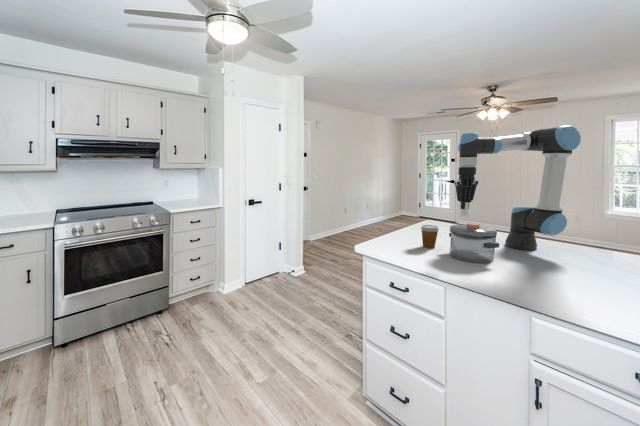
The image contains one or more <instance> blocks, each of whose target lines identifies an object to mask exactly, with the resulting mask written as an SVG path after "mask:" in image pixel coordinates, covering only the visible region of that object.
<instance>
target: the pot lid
mask: <svg viewBox="0 0 640 426" xmlns="http://www.w3.org/2000/svg"><path fill="white" fill-rule="evenodd" d="M451 232H452V233H454V234H458V235H462V236H468V237H478V238H491V237H496V238H497V233H498V231H497V230H496V229H494V228H491V227H486V226H481V225H480V224H477V223H474V222H473V223H471V222H470V223H466V224H455V225H450V227H449V233H451Z"/></svg>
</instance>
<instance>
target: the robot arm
mask: <svg viewBox="0 0 640 426" xmlns="http://www.w3.org/2000/svg"><path fill="white" fill-rule="evenodd" d="M581 138H582V137H581V133H580V131H579V130H578V128H576V127H575V126H573V125H559V126H554V127H553V126H552V127H545V128H539V129H535V130H530V131H526V132H521V133H519V134H515V135H504V136H494V137H480V136H479V133H478V132H466V133H462V134H461V135H460V141H459V144H458V147H457V149H458V153H459V157H458V160H459V161H458V166H459V167H458V171H457V174H458V176H459V177H458V180H456V181H454V183H453V184H454V187H455V190H456V192H455V193H456V199H457V202H460V209H461V211H460V216H463V217H468V216H469V213H468V212H469V208H470V203H472V202H473V201H474V197H475V193H476V190H477V187H478V184H479V181H478V180H476V179H475V177H476V176H475V175H476V174H477V167H476V166H477V165H478V164H477V163H478V155H489V154H490V155H491V154H492V155H493V154H498V153H500V152H506V151H508V152H509V151H518V150H519V151H521V152H526V151H529V152H530V151H532V152H542V153H541V154H542V155H543V156H544V166H543V170H542V171H543V172H542V178H541V183H540V184H541V186H540V192H539V198H538V204H537V205H536V206H514V207H513V208H512V210H511V216H510V217H511V218H510V227H509V228H510V229H509V232H508V235H507V237H506V239H505V242H504V245H505V246H506V247H508V248H511V249H516V250H524V251H533V250H537V249H538V243H537V239H536V238H537V237H536V235H535V234H536V233H539V234H542V235H543V236H544V235H545V236H557V235H559V234H561V233H562V232H564V230H565V229H566V227H567V224H568V219H567V217H566V215H565V214H563V211H564V210H563V208H562V207H561V206H560V203H561V197H562V192H563V185H564V180H565V179H564V178H565V173H566V166H567V159H568V157H570V156H571V155H573V150H576V149H577V148H578V146H580V143H581V142H582V141H581V140H582V139H581ZM543 156H542V157H543Z"/></svg>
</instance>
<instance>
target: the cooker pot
mask: <svg viewBox="0 0 640 426" xmlns="http://www.w3.org/2000/svg"><path fill="white" fill-rule="evenodd" d="M448 237H449V238H450V241H449V242H450V244H449V256H450V257H451V258H452V259H455V260H456V261H461V262H466V263H470V264H471V263H472V264H490V263H492V262H494V260H495V252H496V251H495V250H496V248H500V242H497V241H496V240H497V236H496V237H491V238H478V237H468V236H462V235H458V234H454V233H452V232H449V233H448Z"/></svg>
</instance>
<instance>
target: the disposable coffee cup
mask: <svg viewBox="0 0 640 426" xmlns="http://www.w3.org/2000/svg"><path fill="white" fill-rule="evenodd" d="M420 229H421V237H422V238H421V239H422V240H421V241H422V247H423V249H424V248H425V249H431V250H432V249H435V247H436V243H437V237H438V232H439V230H440V228H439V226H437V225H434V224H433V225H432V224H423V225H421V227H420Z"/></svg>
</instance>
